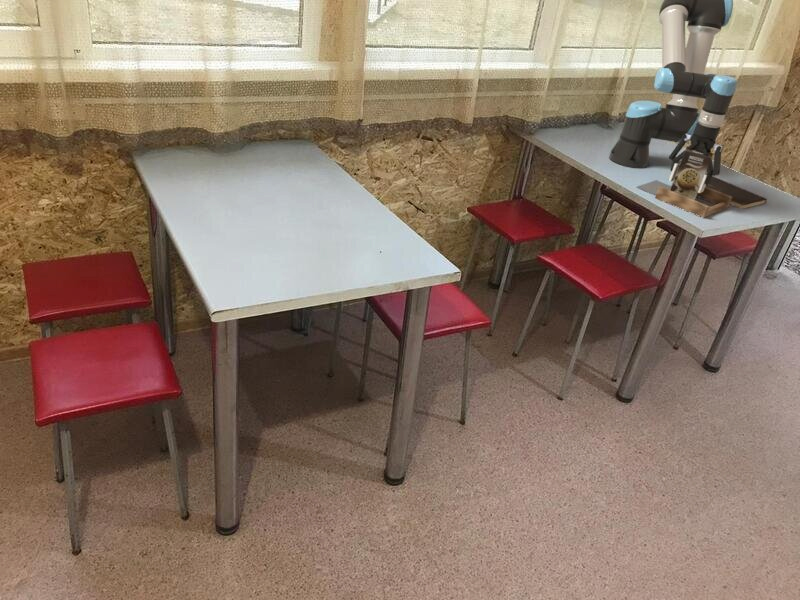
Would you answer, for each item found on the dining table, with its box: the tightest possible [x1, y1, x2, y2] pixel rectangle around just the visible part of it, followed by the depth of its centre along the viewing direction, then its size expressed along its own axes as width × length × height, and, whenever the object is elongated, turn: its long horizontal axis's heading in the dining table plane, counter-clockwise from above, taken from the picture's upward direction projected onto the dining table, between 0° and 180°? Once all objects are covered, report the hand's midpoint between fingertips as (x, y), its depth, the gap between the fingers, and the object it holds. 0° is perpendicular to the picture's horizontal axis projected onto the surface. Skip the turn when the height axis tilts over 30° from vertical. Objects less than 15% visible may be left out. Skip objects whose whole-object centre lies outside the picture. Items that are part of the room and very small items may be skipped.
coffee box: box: [670, 146, 714, 201], centre depth 227 cm, size 9×6×16 cm
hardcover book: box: [706, 176, 768, 210], centre depth 241 cm, size 16×23×2 cm
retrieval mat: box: [635, 179, 672, 196], centre depth 237 cm, size 9×14×1 cm, turn 131°
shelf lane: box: [654, 186, 732, 218], centre depth 228 cm, size 18×19×4 cm
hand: (685, 186), depth 229 cm, fingers closed on coffee box, 10 cm apart
